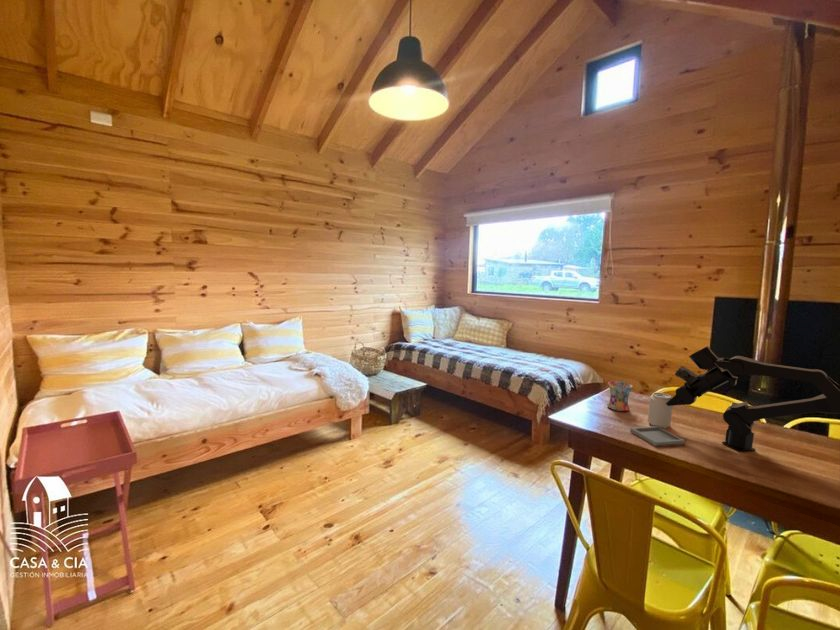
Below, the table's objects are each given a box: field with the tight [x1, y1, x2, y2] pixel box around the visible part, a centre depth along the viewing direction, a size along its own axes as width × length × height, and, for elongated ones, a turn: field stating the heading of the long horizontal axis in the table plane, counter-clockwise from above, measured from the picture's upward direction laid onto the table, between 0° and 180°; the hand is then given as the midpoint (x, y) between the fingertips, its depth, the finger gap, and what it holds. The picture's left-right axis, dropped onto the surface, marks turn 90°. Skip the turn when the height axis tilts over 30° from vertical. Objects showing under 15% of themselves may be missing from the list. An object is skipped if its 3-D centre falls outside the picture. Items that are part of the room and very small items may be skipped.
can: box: [647, 392, 674, 429], centre depth 147 cm, size 8×8×12 cm
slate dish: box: [630, 426, 686, 448], centre depth 136 cm, size 12×12×2 cm
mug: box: [606, 380, 634, 412], centre depth 164 cm, size 12×9×11 cm
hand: (670, 401), depth 144 cm, fingers open, 9 cm apart
